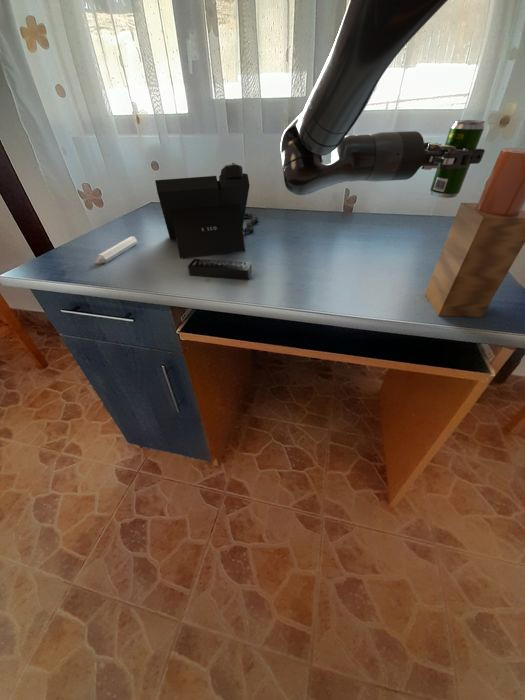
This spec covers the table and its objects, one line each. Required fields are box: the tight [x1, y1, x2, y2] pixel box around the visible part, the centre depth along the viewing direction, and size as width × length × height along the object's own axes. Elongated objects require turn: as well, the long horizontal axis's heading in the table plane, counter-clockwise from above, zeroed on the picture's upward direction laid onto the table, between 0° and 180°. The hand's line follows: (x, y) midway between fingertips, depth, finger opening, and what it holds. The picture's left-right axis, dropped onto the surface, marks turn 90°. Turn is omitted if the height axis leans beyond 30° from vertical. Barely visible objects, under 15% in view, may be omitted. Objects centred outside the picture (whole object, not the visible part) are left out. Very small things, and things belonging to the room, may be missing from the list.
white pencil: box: [94, 235, 138, 265], centre depth 79 cm, size 3×2×16 cm
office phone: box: [154, 162, 259, 260], centre depth 83 cm, size 29×28×20 cm
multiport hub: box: [187, 258, 253, 281], centre depth 70 cm, size 4×14×2 cm, turn 80°
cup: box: [476, 147, 525, 216], centre depth 45 cm, size 6×6×8 cm
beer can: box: [429, 119, 486, 199], centre depth 57 cm, size 5×5×12 cm
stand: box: [424, 202, 525, 318], centre depth 54 cm, size 8×8×18 cm
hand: (469, 153), depth 57 cm, fingers closed on beer can, 5 cm apart
